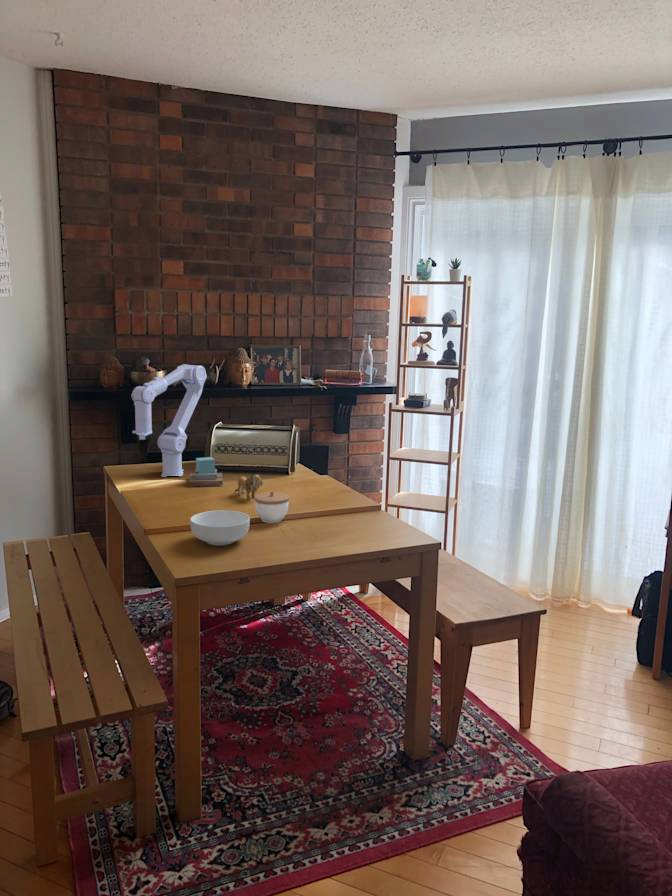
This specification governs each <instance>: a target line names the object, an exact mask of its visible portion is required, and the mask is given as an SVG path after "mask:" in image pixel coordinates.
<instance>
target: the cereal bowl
mask: <svg viewBox="0 0 672 896" xmlns="http://www.w3.org/2000/svg"><path fill="white" fill-rule="evenodd" d="M189 522H190V530H191V532H192V534H193V535H194V537H196V538H197V539H199V540H201V541H202V542H206V544H208V545H211V546H219V547H220V546H229V545H231V544H233V543H234V542H236V541H238V540H240V539H242V538H244V537H245V536H246V535H247V533H248V531H249V529H250V522H251V519H250V516H249V515H248V514H247V513H245V512H242V511H237V510H229V509H227V510H226V509H225V510H224V509H222V510H221V509H219V510H208V511H204V512H199V513H196V514H194V515H192V516H191V517H190V521H189Z"/></svg>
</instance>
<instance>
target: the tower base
mask: <svg viewBox="0 0 672 896" xmlns="http://www.w3.org/2000/svg"><path fill="white" fill-rule="evenodd" d="M188 485H189V486H204V487H221V486H220V485H223V472H218V469H217V468H215V473H205V474H199V473H198V472H196V469H195V470H194V473H189V480H188ZM189 486H188V487H189Z"/></svg>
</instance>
